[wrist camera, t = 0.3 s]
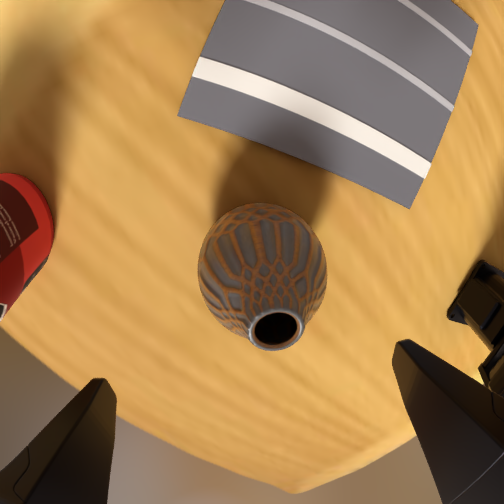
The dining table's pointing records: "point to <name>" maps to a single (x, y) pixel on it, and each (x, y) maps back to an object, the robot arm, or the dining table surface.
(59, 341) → the dining table surface
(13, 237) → the canned food
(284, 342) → the vase
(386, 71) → the mat
